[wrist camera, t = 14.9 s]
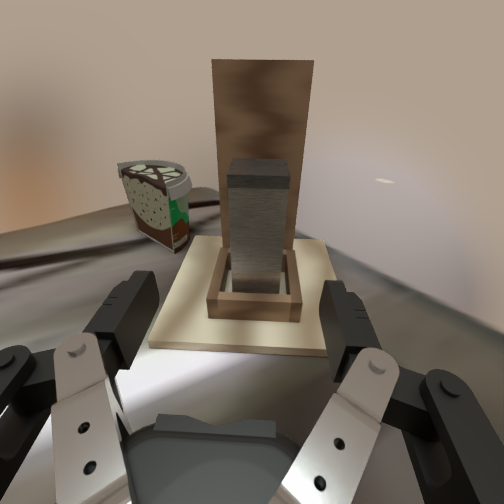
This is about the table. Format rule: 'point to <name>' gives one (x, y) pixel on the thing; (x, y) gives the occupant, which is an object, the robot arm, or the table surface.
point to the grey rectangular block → (257, 222)
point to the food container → (158, 200)
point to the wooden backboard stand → (218, 247)
